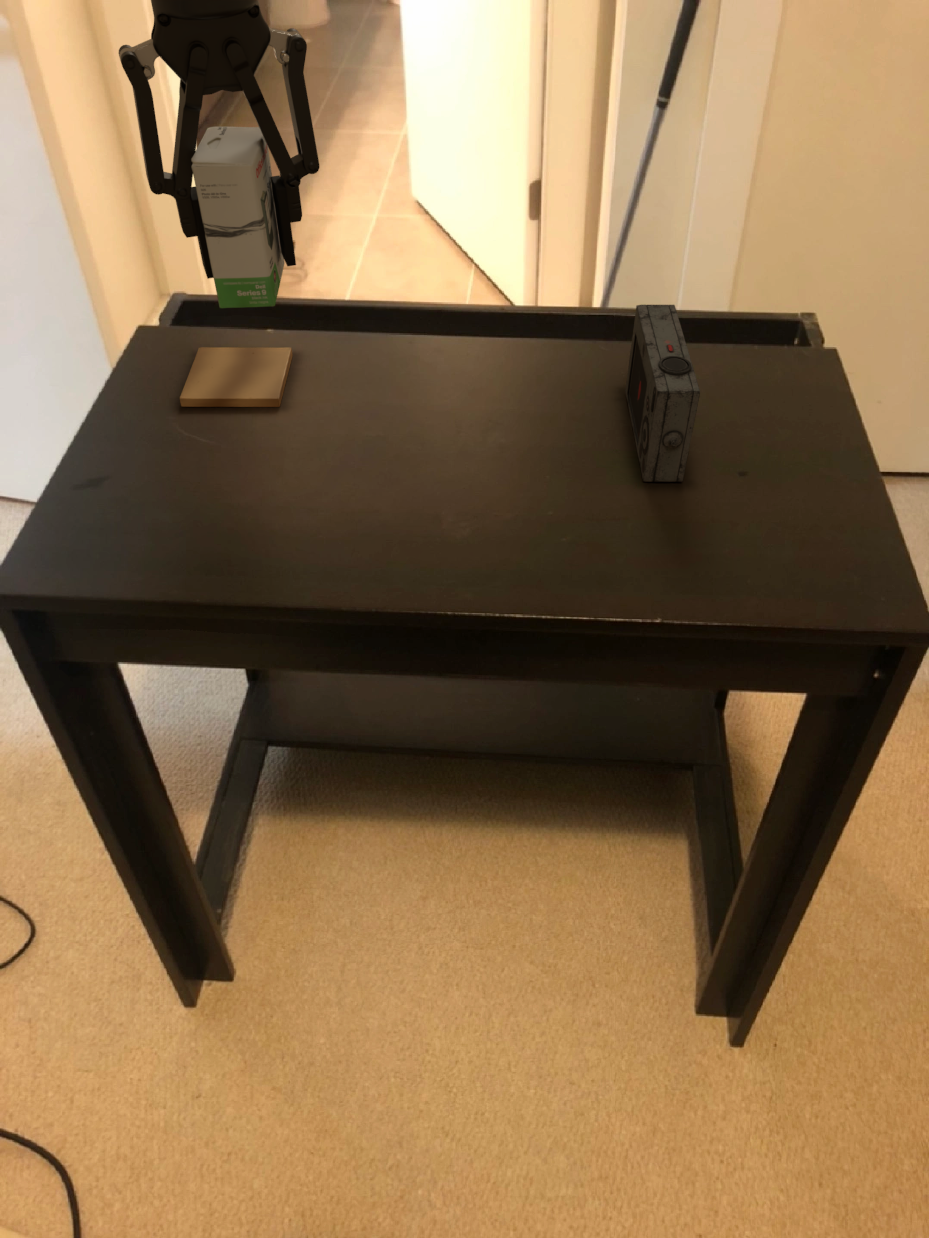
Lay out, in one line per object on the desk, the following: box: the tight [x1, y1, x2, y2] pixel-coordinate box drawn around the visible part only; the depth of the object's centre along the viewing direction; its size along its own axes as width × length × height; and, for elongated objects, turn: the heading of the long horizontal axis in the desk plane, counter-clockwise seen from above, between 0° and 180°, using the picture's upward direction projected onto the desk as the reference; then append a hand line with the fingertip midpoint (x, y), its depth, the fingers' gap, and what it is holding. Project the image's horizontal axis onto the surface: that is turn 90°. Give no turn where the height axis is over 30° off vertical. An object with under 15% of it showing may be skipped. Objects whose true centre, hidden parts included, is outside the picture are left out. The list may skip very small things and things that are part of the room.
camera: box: [624, 304, 701, 483], centre depth 92 cm, size 16×4×10 cm, turn 0°
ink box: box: [191, 126, 285, 309], centre depth 81 cm, size 9×5×12 cm, turn 2°
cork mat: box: [179, 346, 293, 408], centre depth 103 cm, size 10×10×1 cm
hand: (249, 264), depth 84 cm, fingers closed on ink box, 6 cm apart
